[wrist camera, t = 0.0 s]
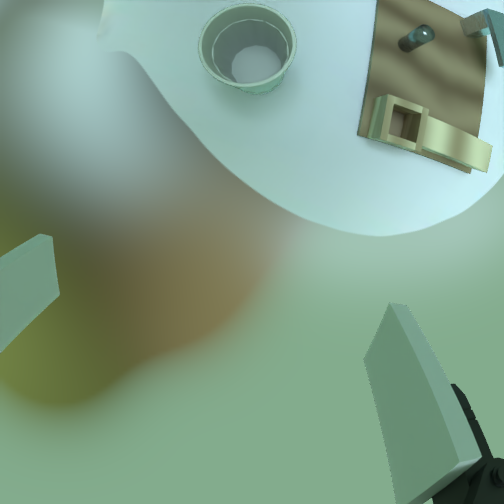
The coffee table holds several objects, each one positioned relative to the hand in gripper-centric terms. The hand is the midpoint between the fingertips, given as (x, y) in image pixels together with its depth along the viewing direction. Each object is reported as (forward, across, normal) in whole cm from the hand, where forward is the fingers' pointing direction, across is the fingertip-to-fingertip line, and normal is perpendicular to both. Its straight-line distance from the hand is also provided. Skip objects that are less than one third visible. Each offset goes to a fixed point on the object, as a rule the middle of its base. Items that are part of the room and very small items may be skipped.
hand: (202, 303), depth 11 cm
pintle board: (+28, +19, +19) cm, 39 cm away
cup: (+28, -2, +13) cm, 31 cm away
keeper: (+27, +26, +26) cm, 45 cm away
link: (+27, +19, +10) cm, 35 cm away
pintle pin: (+28, +15, +21) cm, 38 cm away
